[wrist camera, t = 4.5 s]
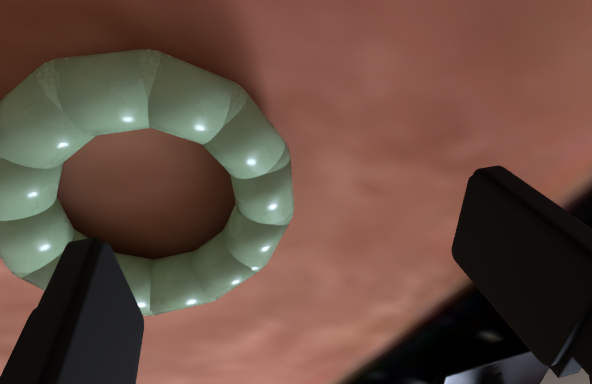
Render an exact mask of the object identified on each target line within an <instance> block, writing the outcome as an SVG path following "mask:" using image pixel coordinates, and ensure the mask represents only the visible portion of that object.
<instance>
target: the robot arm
mask: <svg viewBox="0 0 592 384" xmlns="http://www.w3.org/2000/svg"><path fill="white" fill-rule="evenodd" d="M452 255H453V258H454V260H455V261H456V262H457V264H458V265H459V266H460V267H461V268H462V270H463V271H464V272H465V273H466V274H467V276H468V277H469V278H470V279H471V280H472V282H473V283H474V284H475V285H476V286H477V288H478V289H479V290H480V291H481V292H482V294H483V295H484V296H485V297H486V298H487V300H488V301H489V302H490V303H491V304H492V306H493V307H494V308H495V309H496V310H497V312H498V313H499V314H500V315H501V316H502V318H503V319H504V320H505V321H506V322H507V323H508V325H509V326H510V327H511V328H512V329H513V331H514V332H515V333H516V334H517V335H518V337H519V338H520V339H521V340H522V341H523V343H524V344H525V345H526V346H527V347H528V349H529V350H530V351H531V352H532V353H533V355H534V356H535V357H536V358H537V359H538V360H539V361H540V362H541V363H542V364H544V365H546V366H549V367H550V369H551V370H552V371H553V372H554V373H555V375H557V377H558V378H560V377H564V376H568V375H571V374H575V373H578V372H579V371H580V369H581V368H583V369H584V370H585V372H586V373H587V374H588V375H589V378H590V384H592V229H591V228H590V227H588V226H587V225H586V224H584V223H583V222H581V221H580V220H578V219H577V218H576V217H574V216H573V215H571V214H570V213H568V212H567V211H565V210H564V209H563V208H561V207H560V206H558V205H557V204H555V203H554V202H553V201H551V200H550V199H548V198H547V197H545V196H544V195H543V194H541V193H540V192H538V191H537V190H535V189H534V188H532V187H531V186H530V185H528V184H527V183H525V182H524V181H522V180H521V179H520V178H518V177H517V176H515V175H514V174H512V173H511V172H510V171H508V170H507V169H505V168H504V167H502V166H491V167H486V168H480V169H477V170H476V171H475V172H474V174H473V175H472V176H471V177H470V178H469V180H468V184H467V188H466V192H465V196H464V200H463V204H462V208H461V212H460V217H459V221H458V225H457V229H456V233H455V237H454V241H453V245H452ZM143 331H144V319H143V315H142V312H141V310H140V308H139V306H138V304H137V302H136V300H135V297H134V295H133V293H132V291H131V289H130V287H129V285H128V282H127V280H126V278H125V276H124V274H123V272H122V270H121V267H120V265H119V263H118V261H117V259H116V257H115V255H114V252H113V250H112V248H111V246H110V244H109V243H108V242H101V241H100V239H98V238H97V237H93V238H87V239H82V240H76V241H70V242H69V243H67V245H66V246H65V248H64V251H63V253H62V255H61V257H60V259H59V261H58V264H57V266H56V268H55V270H54V272H53V274H52V277H51V279H50V281H49V283H48V285H47V287H46V289H45V292H44V294H43V296H42V298H41V300H40V302H39V305H38V307H37V308H35V309H34V310H33V311H32V313H31V314H30V316H29V318H28V320H27V322H26V324H25V326H24V328H23V330H22V332H21V335H20V337H19V339H18V341H17V343H16V345H15V347H14V349H13V351H12V353H11V356H10V358H9V360H8V362H7V364H6V366H5V368H4V370H3V372H2V375H1V377H0V384H136V378H137V371H138V364H139V358H140V351H141V344H142V338H143Z"/></svg>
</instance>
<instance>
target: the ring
mask: <svg viewBox="0 0 592 384" xmlns="http://www.w3.org/2000/svg"><path fill="white" fill-rule="evenodd" d="M145 128H153V129H156V130H159V131H162V132H165V133H169V134H172V135H175V136H178V137H181V138H184V139H187V140H190V141H194V142H197V143H200V144H202V145H203V146H204V147H205V148H206V149H207V150H208V151H209V152H210V153H211V154H212V156H213V157H214V158H215V159H216V160H217V161H218V162H219V163H220V164H221V165H222V166H223V167H224V168H225V169H226V170H227V171H228V172H229V173H230V176H231V181H232V187H233V192H234V197H235V203H236V204H235V206H234V209H233V211H232V213H231V215H230V217H229V219H228V222H227V224H226V226H225V228H224V230H223V231H222V232H221V233H219V234H218V235H216V236H215V237H214V238H212V239H211V240H209V241H208V242H207V243H205V244H204V245H202V246H201V247H200V248H198V249H197V250H195V251H192V252H188V253H183V254H178V255H173V256H168V257H163V258H158V259H148V258H143V257H137V256H131V255H125V254H119V253H114V255H115V257H116V259H117V261H118V263H119V265H120V267H121V270H122V272H123V274H124V276H125V278H126V280H127V282H128V285H129V287H130V289H131V291H132V293H133V295H134V297H135V300H136V302H137V304H138V306H139V308H140V310H141V312H142V315H145V316H146V315H147V316H152V315H158V314H162V313H166V312H171V311H175V310H179V309H184V308H188V307H192V306H197V305H201V304H205V303H210V302H213V301H215V300H217V299H219V298H220V297H222V296H223V295H225V294H226V293H228V292H229V291H230V290H232V289H233V288H235V287H236V286H238V285H239V284H241V283H242V282H244V281H245V280H247V279H248V278H250V277H251V276H253V275H254V274H255V273H257V272H258V271H260V270H261V269H262V268H263V267H264V266H265V265H266V264H267V263H268V261H269V259H270V257H271V255H272V254H273V252H274V250H275V248H276V246H277V245H278V243H279V241H280V239H281V237H282V236H283V234H284V232H285V230H286V228H287V226H288V225H289V223H290V221H291V219H292V216H293V213H294V199H293V186H292V173H291V160H290V152H289V148H288V146H287V144H286V142H285V141H284V139H283V138H282V137H281V135H280V134H279V133H278V132H277V130H276V129H275V128H274V127H273V125H272V124H271V123H270V121H269V120H268V119H267V118H266V116H265V115H264V114H263V112H262V111H261V110H260V109H259V107H258V106H257V105H256V104H255V102H254V101H253V100H252V98H251V97H250V96H249V95H248V93H247V92H246V91H245V90H244V89H243V88H242V87H241V86H240V85H238V84H237V83H235V82H233V81H231V80H228V79H226V78H224V77H221V76H219V75H216V74H214V73H211V72H209V71H207V70H204V69H202V68H199V67H197V66H194V65H192V64H189V63H187V62H185V61H182V60H180V59H177V58H175V57H172V56H170V55H168V54H165V53H163V52H160V51H157V50H151V49H139V50H130V51H121V52H112V53H103V54H94V55H85V56H76V57H67V58H59V59H54V60H51V61H48V62H46V63H44V64H42V65H41V66H39V67H38V68H37V69H36V70H35V71H33V72H32V73H31V74H30V75H29V76H28V77H26V78H25V79H24V80H23V81H22V82H21V83H20V84H18V85H17V86H16V87H15V88H14V89H13V90H11V91H10V92H9V93H8V94H7V95H6V96H5V97H3V98H2V99H1V100H0V258H1V259H2V261H3V262H4V263H5V265H6V266H7V268H8V269H9V270H10V271H11V272H12V273H13V274H14V275H16V276H17V277H19V278H21V279H23V280H25V281H27V282H29V283H31V284H33V285H35V286H37V287H39V288H41V289H43V290H45V289H46V287H47V285H48V283H49V281H50V279H51V277H52V274H53V272H54V270H55V268H56V266H57V264H58V261H59V259H60V257H61V255H62V253H63V251H64V248H65V246H66V245H67V243H69V242H70V241H76V240H82V239H87V238H88V237H86V236H84V235H83V234H81V233H80V232H78V231H77V230H75V229H74V228H73V227H72V225H71V223H70V221H69V219H68V217H67V215H66V213H65V211H64V209H63V207H62V205H61V204H60V202H59V200H58V198H57V191H58V186H59V181H60V176H61V172H62V167H63V162H64V161H66V160H67V159H68V158H69V157H71V156H72V155H73V154H74V153H76V152H77V151H78V150H79V149H81V148H82V147H83V146H84V145H85V144H87V143H88V142H89V141H90V140H92V139H93V138H94V137H95V136H97V135H104V134H111V133H117V132H124V131H131V130H138V129H145Z"/></svg>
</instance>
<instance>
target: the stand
mask: <svg viewBox="0 0 592 384" xmlns="http://www.w3.org/2000/svg"><path fill="white" fill-rule="evenodd" d="M549 368H550V367H549V366H546V365H544V364H542V363H541V362H540V361H539V360H538V359H537V358H536V357H535V356H534V355H533V353H532V352H531V351H530V350H529V349H528V347H527V346H526V345H525V344H524V343H523V341H522V340H521V339H520V338H519V337H515V338H512V339H508V340H505V341H501V342H498V343H494V344H491V345H487V346H484V347H480V348H477V349H473V350H470V351H466V352H463V353H459V354H456V355H452V356H449V357H445V358H442V359H438V360H436V362H435V366H434V370H433V373H432V377H431V380H430V384H540V382H541V381H542V379H543V378H544V376H545V374H546V373H547V371H548V369H549Z"/></svg>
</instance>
